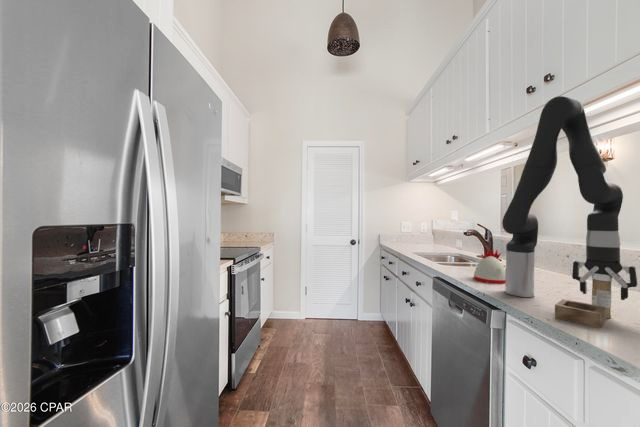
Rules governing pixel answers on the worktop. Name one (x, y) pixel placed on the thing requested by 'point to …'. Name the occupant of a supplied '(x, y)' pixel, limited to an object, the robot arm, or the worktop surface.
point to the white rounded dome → (490, 269)
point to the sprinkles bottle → (602, 292)
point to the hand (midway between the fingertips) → (603, 296)
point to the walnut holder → (580, 313)
